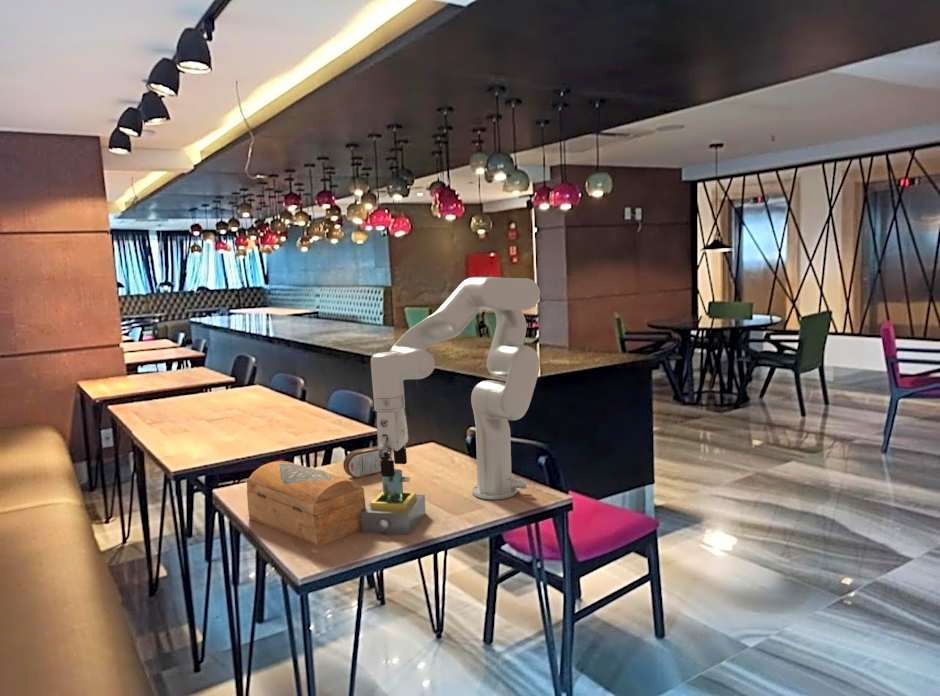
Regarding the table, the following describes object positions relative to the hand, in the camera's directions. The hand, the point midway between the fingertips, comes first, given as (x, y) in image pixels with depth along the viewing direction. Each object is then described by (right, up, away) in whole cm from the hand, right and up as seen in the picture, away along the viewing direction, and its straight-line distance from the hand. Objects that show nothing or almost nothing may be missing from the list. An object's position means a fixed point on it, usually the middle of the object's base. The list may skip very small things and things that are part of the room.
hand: (394, 469), depth 171 cm
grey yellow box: (0, -13, +1) cm, 13 cm away
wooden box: (-22, -14, +3) cm, 27 cm away
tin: (-13, -9, +42) cm, 44 cm away
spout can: (0, -8, +1) cm, 8 cm away
